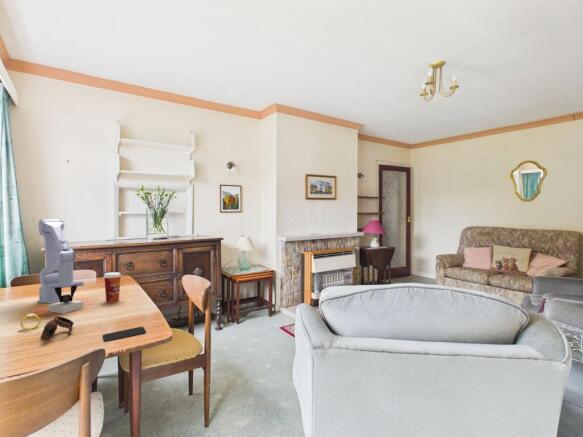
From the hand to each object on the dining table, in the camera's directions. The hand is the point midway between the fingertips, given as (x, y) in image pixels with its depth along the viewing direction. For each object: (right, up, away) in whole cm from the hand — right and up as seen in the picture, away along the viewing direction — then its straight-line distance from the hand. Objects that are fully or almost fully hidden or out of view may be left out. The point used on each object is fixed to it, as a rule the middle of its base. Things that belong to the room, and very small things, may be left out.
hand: (66, 301), depth 151 cm
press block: (0, -4, 0) cm, 4 cm away
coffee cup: (+15, -4, +15) cm, 21 cm away
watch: (+2, -5, -23) cm, 24 cm away
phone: (+44, -6, -27) cm, 52 cm away
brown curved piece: (+18, -6, -30) cm, 36 cm away
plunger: (0, -4, 0) cm, 4 cm away
